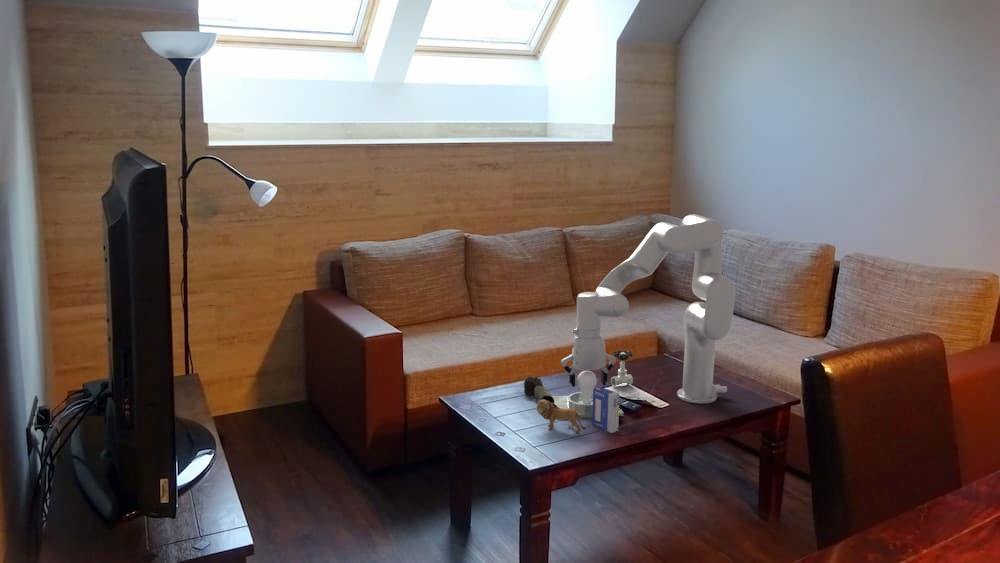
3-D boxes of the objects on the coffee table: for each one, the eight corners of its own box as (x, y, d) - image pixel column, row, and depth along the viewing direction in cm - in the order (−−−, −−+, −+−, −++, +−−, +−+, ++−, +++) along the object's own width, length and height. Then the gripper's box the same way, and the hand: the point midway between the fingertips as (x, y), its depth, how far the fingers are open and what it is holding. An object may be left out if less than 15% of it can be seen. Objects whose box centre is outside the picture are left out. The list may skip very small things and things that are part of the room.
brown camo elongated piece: (554, 407, 253) (554, 391, 252) (533, 409, 251) (534, 392, 250) (539, 388, 270) (539, 372, 268) (519, 389, 268) (519, 373, 267)
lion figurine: (535, 431, 234) (536, 402, 232) (536, 424, 240) (537, 396, 238) (586, 434, 233) (587, 405, 231) (586, 426, 238) (587, 398, 236)
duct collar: (611, 397, 261) (611, 388, 260) (623, 416, 245) (623, 406, 245) (550, 399, 259) (550, 390, 258) (559, 419, 243) (559, 409, 243)
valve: (608, 384, 273) (609, 350, 270) (624, 382, 275) (626, 348, 273) (618, 391, 267) (619, 356, 264) (635, 388, 270) (636, 354, 267)
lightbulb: (596, 401, 254) (597, 368, 252) (596, 408, 249) (596, 374, 246) (577, 400, 255) (577, 367, 253) (576, 407, 249) (576, 374, 247)
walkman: (591, 425, 239) (593, 387, 236) (598, 423, 241) (599, 385, 238) (612, 433, 233) (613, 394, 230) (618, 431, 235) (620, 392, 232)
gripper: (563, 337, 242) (563, 390, 246) (619, 334, 244) (618, 387, 248) (558, 330, 249) (558, 382, 253) (613, 327, 251) (612, 379, 255)
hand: (588, 384), depth 251 cm, fingers open, 9 cm apart
